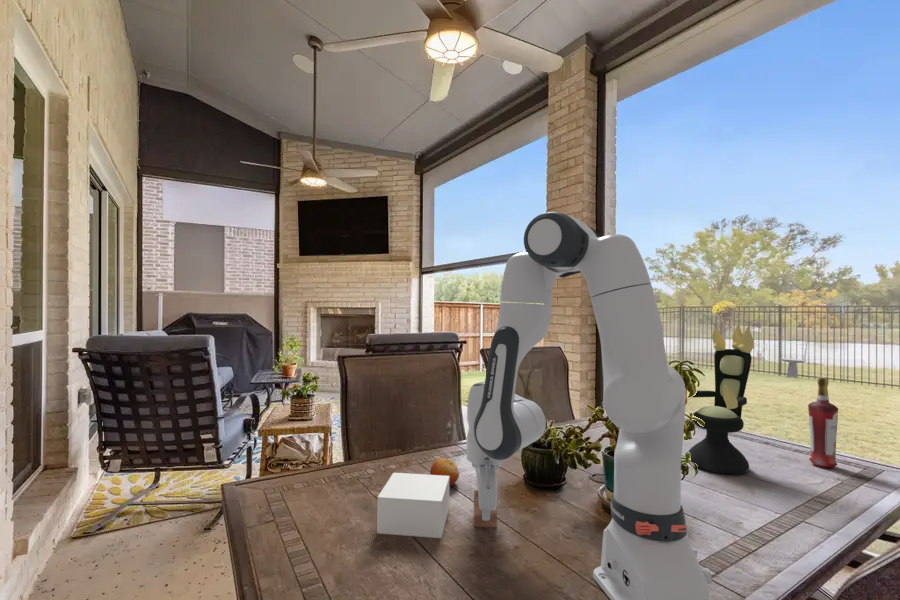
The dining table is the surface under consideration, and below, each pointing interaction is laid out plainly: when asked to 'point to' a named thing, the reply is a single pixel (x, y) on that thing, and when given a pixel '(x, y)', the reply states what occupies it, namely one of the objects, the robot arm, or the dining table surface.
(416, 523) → the cream box
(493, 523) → the terracotta block
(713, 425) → the crowned throne chair
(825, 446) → the liquor
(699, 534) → the dining table surface
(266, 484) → the dining table surface
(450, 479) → the fruit
